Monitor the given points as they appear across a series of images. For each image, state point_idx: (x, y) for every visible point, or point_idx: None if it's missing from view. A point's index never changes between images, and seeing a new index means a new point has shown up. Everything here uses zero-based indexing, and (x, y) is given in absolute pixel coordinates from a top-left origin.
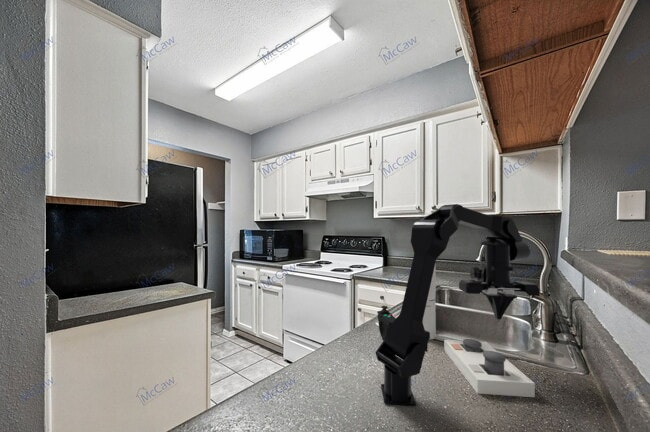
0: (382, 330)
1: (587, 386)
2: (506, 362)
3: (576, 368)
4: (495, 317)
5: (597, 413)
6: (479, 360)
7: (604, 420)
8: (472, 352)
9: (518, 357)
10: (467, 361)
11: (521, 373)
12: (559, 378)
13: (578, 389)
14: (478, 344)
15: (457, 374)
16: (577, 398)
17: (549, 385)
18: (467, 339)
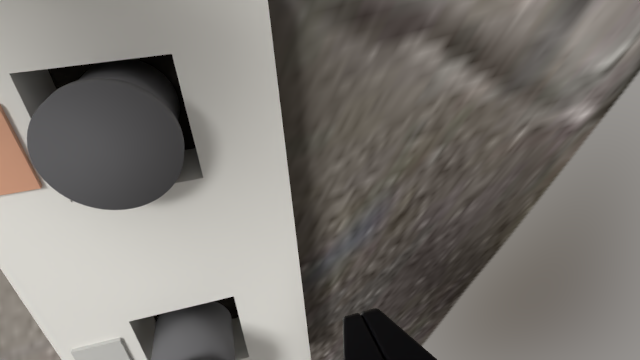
0: None
1: (514, 211)
2: (279, 258)
3: (609, 72)
4: (343, 323)
5: (419, 331)
6: (141, 286)
7: None
8: None
9: (430, 3)
10: (70, 317)
11: (299, 326)
12: (466, 185)
13: (469, 238)
14: (156, 182)
15: None
16: (424, 287)
17: (393, 246)
18: (70, 100)
